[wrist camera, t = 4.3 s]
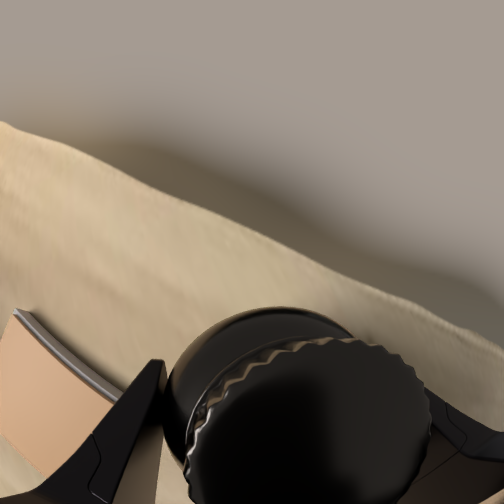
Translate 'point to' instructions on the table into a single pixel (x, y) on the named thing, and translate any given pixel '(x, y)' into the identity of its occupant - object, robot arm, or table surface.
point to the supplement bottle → (294, 413)
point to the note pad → (47, 395)
